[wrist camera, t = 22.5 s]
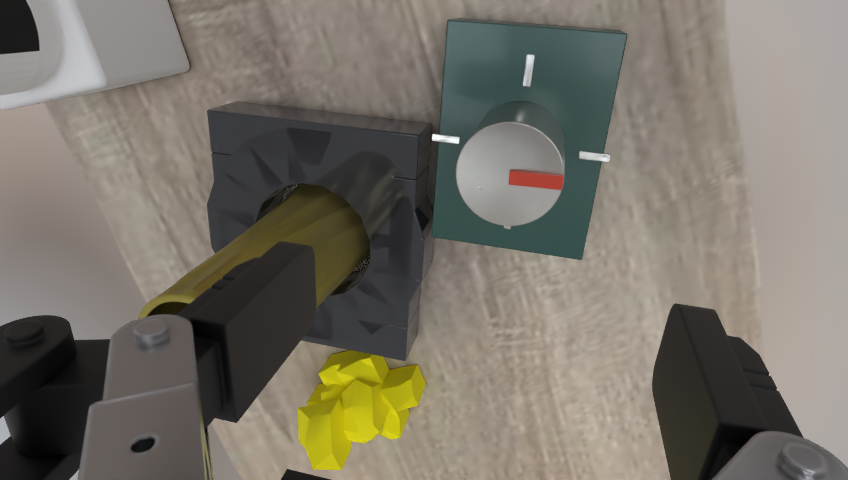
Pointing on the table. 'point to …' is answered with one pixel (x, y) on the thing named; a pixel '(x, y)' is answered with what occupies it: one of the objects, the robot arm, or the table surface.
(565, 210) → the panel
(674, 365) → the robot arm
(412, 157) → the square flange with hole
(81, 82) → the medicine bottle
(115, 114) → the table surface
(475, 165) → the grey rotary knob
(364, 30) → the table surface
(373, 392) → the yellow faceted cluster
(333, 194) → the vase
